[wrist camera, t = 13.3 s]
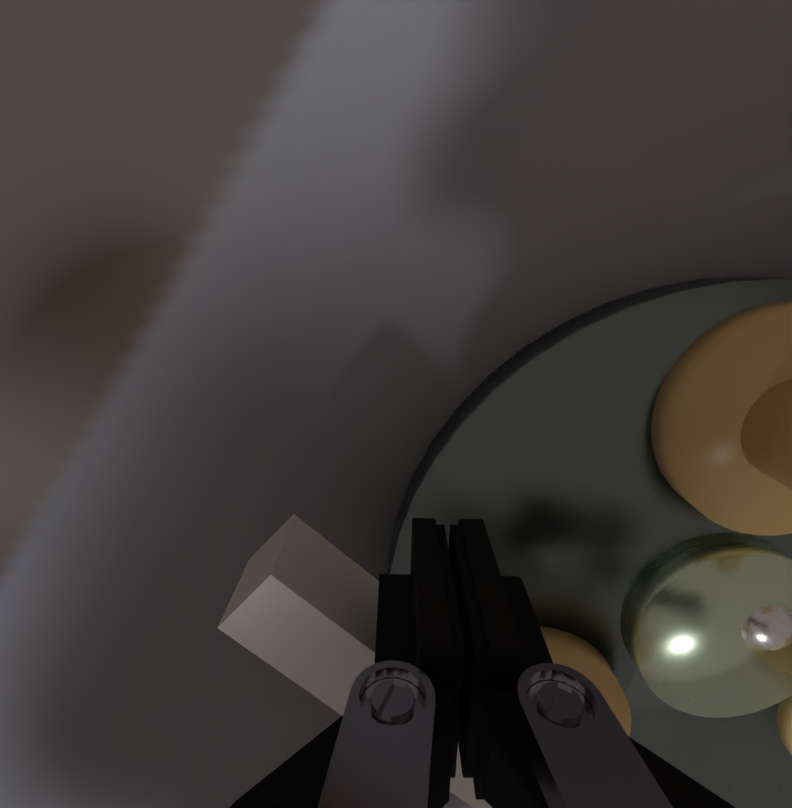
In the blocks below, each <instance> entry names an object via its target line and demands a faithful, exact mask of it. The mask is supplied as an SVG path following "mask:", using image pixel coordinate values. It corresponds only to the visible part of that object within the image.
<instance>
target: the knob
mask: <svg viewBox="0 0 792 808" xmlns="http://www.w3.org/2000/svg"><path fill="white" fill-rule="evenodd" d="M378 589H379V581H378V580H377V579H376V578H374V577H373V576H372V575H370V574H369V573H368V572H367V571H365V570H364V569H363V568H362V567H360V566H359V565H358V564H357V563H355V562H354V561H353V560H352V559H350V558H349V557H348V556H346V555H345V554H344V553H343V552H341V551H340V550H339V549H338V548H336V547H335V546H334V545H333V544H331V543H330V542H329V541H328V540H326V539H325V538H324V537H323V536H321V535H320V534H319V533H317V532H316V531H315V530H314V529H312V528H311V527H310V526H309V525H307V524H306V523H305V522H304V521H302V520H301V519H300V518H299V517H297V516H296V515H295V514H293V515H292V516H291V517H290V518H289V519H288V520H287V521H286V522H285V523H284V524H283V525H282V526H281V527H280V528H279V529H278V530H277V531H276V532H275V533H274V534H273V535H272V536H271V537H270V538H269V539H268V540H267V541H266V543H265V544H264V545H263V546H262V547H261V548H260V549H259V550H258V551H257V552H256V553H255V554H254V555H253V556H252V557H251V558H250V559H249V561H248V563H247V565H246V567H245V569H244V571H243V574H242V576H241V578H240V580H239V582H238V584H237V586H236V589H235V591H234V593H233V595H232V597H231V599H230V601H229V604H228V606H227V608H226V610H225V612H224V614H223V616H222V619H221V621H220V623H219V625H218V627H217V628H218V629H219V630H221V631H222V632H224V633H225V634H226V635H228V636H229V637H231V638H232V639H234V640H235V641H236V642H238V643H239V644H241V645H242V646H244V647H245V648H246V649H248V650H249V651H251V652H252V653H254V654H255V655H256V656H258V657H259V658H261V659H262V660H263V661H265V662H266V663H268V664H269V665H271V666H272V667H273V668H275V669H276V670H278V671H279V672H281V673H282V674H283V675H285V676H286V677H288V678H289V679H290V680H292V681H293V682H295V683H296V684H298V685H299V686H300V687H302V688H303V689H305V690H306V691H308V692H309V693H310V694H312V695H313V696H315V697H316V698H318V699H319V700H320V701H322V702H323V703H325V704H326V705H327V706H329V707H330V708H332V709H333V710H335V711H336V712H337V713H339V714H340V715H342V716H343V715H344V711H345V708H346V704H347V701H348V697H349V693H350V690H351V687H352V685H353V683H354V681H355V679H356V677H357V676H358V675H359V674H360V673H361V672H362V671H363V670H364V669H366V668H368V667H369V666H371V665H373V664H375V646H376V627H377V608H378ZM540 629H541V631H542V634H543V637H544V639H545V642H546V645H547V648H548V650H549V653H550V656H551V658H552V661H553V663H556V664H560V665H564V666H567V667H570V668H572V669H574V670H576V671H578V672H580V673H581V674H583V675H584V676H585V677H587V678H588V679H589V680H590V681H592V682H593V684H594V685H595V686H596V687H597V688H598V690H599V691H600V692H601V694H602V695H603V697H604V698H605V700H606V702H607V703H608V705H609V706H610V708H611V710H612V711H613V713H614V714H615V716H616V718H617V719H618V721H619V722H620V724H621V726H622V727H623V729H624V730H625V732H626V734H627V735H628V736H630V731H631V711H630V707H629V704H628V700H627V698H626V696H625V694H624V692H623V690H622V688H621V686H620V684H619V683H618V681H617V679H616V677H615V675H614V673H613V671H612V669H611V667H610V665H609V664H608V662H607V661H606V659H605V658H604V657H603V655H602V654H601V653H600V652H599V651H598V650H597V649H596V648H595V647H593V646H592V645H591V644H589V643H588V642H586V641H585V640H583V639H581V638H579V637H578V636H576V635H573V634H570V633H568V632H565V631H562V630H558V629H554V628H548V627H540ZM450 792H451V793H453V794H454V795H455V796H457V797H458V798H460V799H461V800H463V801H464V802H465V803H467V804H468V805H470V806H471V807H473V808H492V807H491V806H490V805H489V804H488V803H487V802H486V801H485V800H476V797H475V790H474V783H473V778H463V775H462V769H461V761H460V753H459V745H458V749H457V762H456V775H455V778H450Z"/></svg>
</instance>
